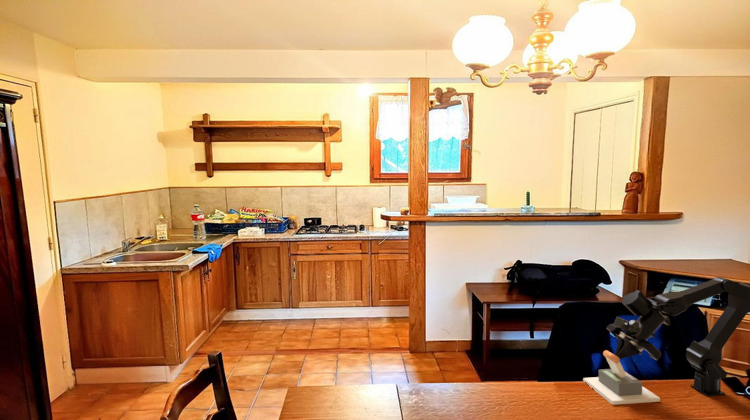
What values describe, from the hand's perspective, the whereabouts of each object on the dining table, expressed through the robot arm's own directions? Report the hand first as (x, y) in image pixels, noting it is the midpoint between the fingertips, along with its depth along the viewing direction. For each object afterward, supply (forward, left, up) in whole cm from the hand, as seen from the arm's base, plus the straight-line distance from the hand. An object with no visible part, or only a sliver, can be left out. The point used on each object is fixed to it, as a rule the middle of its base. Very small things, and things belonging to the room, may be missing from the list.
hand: (615, 359), depth 129 cm
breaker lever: (-2, 0, -5) cm, 6 cm away
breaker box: (-2, 0, -11) cm, 11 cm away
